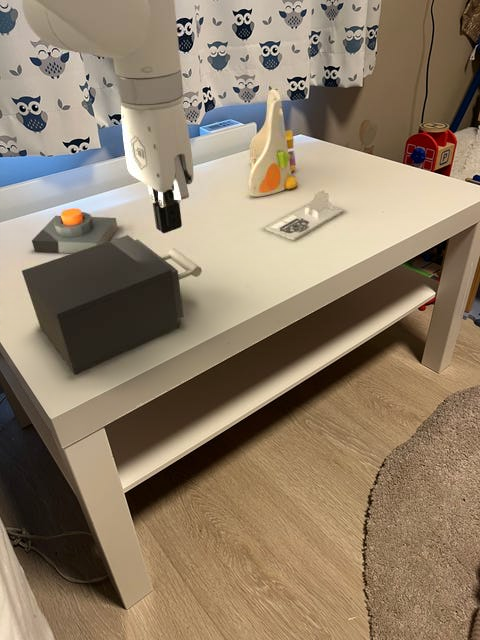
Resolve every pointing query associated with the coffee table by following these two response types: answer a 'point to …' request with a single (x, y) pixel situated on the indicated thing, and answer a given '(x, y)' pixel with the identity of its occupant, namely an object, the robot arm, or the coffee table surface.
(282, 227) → the white stand base
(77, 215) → the button
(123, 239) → the drawer box
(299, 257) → the coffee table surface
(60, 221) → the control block
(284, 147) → the shape sorter
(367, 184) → the coffee table surface
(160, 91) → the robot arm
